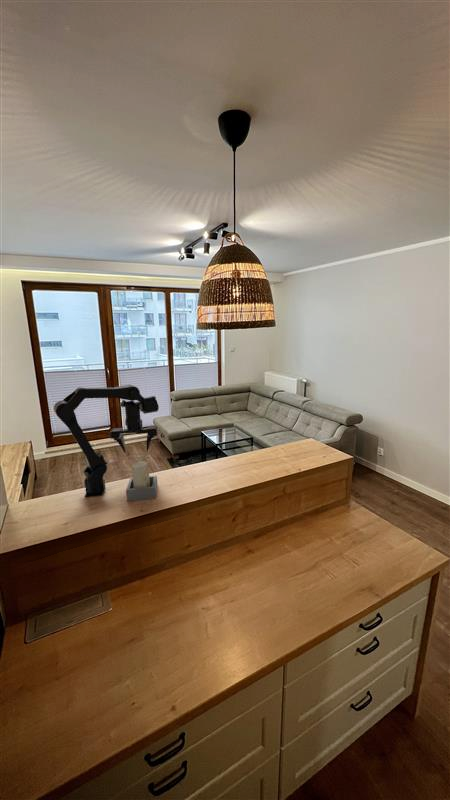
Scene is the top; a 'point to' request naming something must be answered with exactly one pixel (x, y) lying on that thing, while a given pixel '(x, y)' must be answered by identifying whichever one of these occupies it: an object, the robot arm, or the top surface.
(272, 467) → the top surface
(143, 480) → the skincare box
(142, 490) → the gray rectangular frame
